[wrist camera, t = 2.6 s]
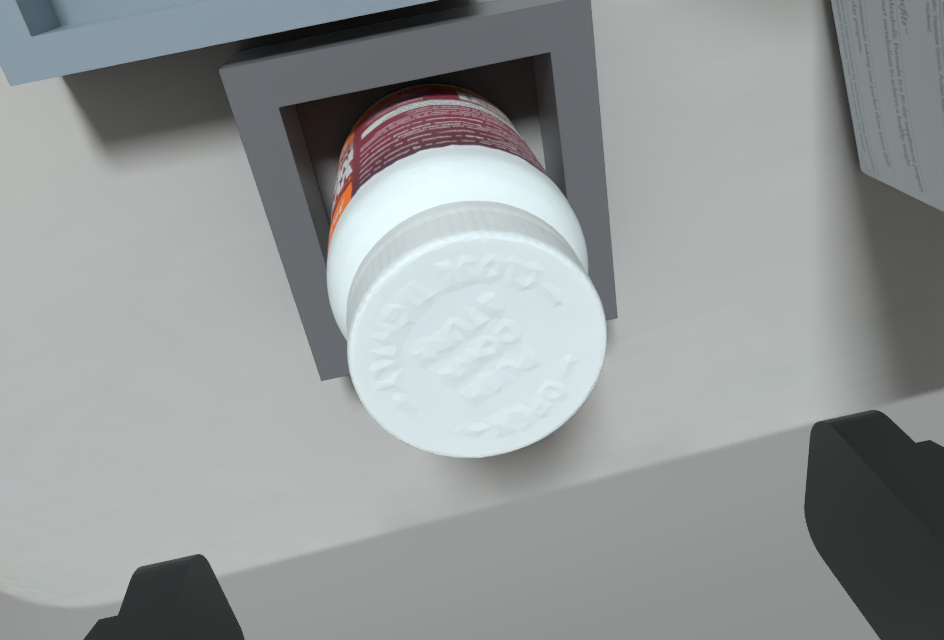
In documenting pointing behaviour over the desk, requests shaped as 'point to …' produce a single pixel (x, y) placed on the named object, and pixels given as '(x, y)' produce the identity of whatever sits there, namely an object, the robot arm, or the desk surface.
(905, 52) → the supplement box
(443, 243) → the pill bottle
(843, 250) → the desk surface
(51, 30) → the parts tray
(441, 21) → the gray hollow square frame
